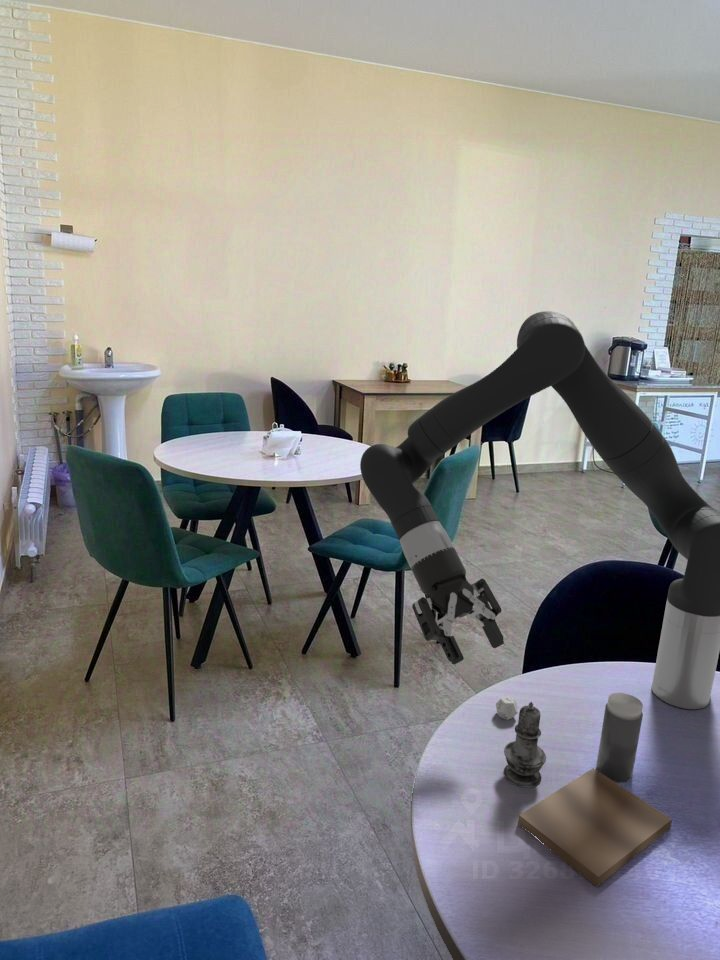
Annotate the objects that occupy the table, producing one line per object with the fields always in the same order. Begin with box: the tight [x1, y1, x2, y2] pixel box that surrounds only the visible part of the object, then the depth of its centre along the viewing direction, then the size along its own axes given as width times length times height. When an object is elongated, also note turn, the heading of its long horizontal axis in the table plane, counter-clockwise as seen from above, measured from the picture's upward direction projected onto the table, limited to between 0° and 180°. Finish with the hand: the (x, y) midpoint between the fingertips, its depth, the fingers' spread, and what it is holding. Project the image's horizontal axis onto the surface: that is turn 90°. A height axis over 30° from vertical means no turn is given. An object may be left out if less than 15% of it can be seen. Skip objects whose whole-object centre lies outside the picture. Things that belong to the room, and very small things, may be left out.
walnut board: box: [517, 767, 673, 888], centre depth 92 cm, size 16×12×2 cm
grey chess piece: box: [503, 701, 547, 789], centre depth 100 cm, size 6×6×12 cm
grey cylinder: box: [595, 692, 644, 783], centre depth 102 cm, size 5×5×11 cm
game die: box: [495, 695, 519, 721], centre depth 115 cm, size 4×4×3 cm
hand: (479, 654), depth 105 cm, fingers open, 8 cm apart
